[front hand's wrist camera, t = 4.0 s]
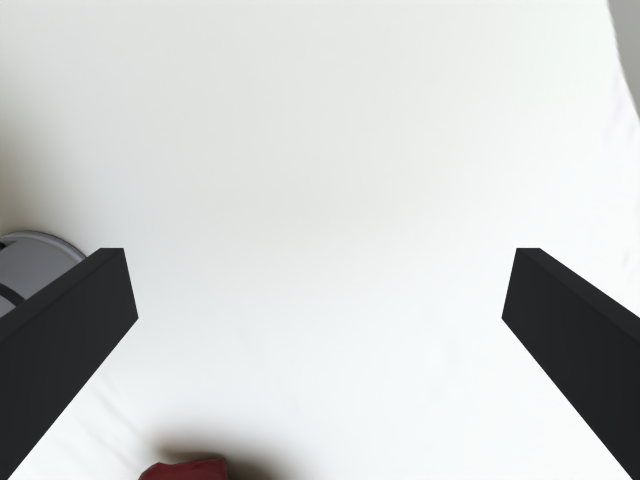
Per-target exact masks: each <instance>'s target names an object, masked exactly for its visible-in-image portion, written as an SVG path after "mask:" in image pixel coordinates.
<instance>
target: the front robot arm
mask: <svg viewBox="0 0 640 480" xmlns="http://www.w3.org/2000/svg"><path fill="white" fill-rule="evenodd" d="M137 320H138V313H137V309H136V304H135V299H134V295H133V290H132V286H131V281H130V276H129V272H128V267H127V262H126V258H125V253H124V249H123V248H100V249H98V250H97V251H95V252H94V253H93V254H91V255H90V256H88V257H87V258H86V257H85V256H84V255H83V254H81V253H80V252H79V251H78V250H77V249H75V248H74V247H73V246H71V245H70V244H68V243H66V242H65V241H63V240H61V239H58V238H56V237H54V236H51V235H48V234H44V233H40V232H32V231H20V232H13V233H10V234H7V235H4V236H2V237H0V480H8V478H9V477H10V476H11V475H12V473H13V472H14V471H15V470H16V468H17V467H18V466H19V465H20V464H21V462H22V461H23V460H24V459H25V457H26V456H27V455H28V454H29V452H30V451H31V450H32V449H33V448H34V446H35V445H36V444H37V443H38V441H39V440H40V439H41V438H42V436H43V435H44V434H45V433H46V432H47V430H48V429H49V428H50V427H51V425H52V424H53V423H54V422H55V420H56V419H57V418H58V417H59V416H60V414H61V413H62V412H63V411H64V409H65V408H66V407H67V406H68V404H69V403H70V402H71V401H72V400H73V398H74V397H75V396H76V395H77V393H78V392H79V391H80V390H81V388H82V387H83V386H84V385H85V384H86V382H87V381H88V380H89V379H90V377H91V376H92V375H93V374H94V372H95V371H96V370H97V369H98V368H99V366H100V365H101V364H102V363H103V361H104V360H105V359H106V358H107V356H108V355H109V354H110V353H111V352H112V350H113V349H114V348H115V347H116V345H117V344H118V343H119V342H120V340H121V339H122V338H123V337H124V336H125V334H126V333H127V332H128V331H129V329H130V328H131V327H132V326H133V324H134V323H135V322H136V321H137ZM502 320H503V321H504V322H505V323H506V324H507V326H508V327H509V328H510V329H511V331H512V332H513V333H514V334H515V336H516V337H517V338H518V339H519V340H520V342H521V343H522V344H523V345H524V347H525V348H526V349H527V350H528V352H529V353H530V354H531V355H532V356H533V358H534V359H535V360H536V361H537V363H538V364H539V365H540V366H541V368H542V369H543V370H544V371H545V372H546V374H547V375H548V376H549V377H550V379H551V380H552V381H553V382H554V384H555V385H556V386H557V387H558V388H559V390H560V391H561V392H562V393H563V395H564V396H565V397H566V398H567V400H568V401H569V402H570V403H571V404H572V406H573V407H574V408H575V409H576V411H577V412H578V413H579V414H580V416H581V417H582V418H583V419H584V420H585V422H586V423H587V424H588V425H589V427H590V428H591V429H592V430H593V432H594V433H595V434H596V435H597V436H598V438H599V439H600V440H601V441H602V443H603V444H604V445H605V446H606V448H607V449H608V450H609V451H610V452H611V454H612V455H613V456H614V457H615V459H616V460H617V461H618V462H619V464H620V465H621V466H622V467H623V468H624V470H625V471H626V472H627V473H628V475H629V476H630V477H631V478H632V480H640V318H639V317H638V316H636V315H635V314H634V313H632V312H631V311H629V310H628V309H626V308H625V307H623V306H622V305H621V304H619V303H618V302H616V301H615V300H613V299H612V298H611V297H609V296H608V295H606V294H605V293H603V292H602V291H601V290H599V289H598V288H596V287H595V286H593V285H592V284H591V283H589V282H588V281H586V280H585V279H583V278H582V277H580V276H579V275H578V274H576V273H575V272H573V271H572V270H570V269H569V268H568V267H566V266H565V265H563V264H562V263H560V262H559V261H558V260H556V259H555V258H553V257H552V256H550V255H549V254H547V253H546V252H545V251H543V250H542V249H540V248H517V249H516V253H515V258H514V262H513V267H512V272H511V276H510V281H509V286H508V290H507V295H506V299H505V304H504V309H503V313H502Z"/></svg>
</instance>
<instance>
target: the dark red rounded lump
mask: <svg viewBox="0 0 640 480" xmlns="http://www.w3.org/2000/svg"><path fill="white" fill-rule="evenodd" d="M138 480H229V478H228V475H227V473H226V464H225V460H224V459H223V458H217V459H206V460H201V461H194V462H184V463H178V464H174V465H169V464H163V463H159V462H158V463H156V464H154V465H152V466H151V467H149V468H148V469H147V470H145V471H144V472H143V473H142V474H141V476H140V477H139V479H138Z"/></svg>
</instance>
